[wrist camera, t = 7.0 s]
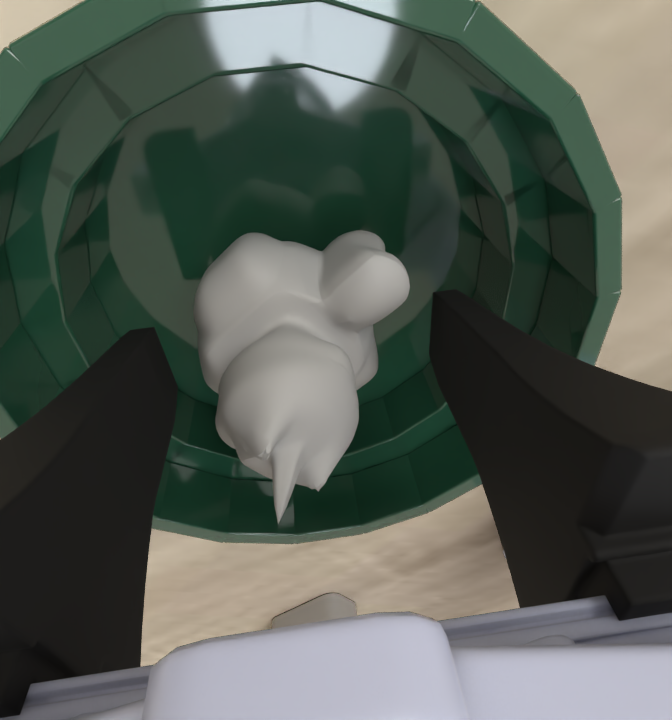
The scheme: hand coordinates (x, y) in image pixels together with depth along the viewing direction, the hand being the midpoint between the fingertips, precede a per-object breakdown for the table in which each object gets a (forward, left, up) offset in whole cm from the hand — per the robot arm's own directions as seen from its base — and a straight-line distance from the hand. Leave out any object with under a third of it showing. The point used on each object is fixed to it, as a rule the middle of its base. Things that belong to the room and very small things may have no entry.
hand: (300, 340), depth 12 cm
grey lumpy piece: (0, 0, -3) cm, 3 cm away
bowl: (0, 0, -4) cm, 4 cm away
